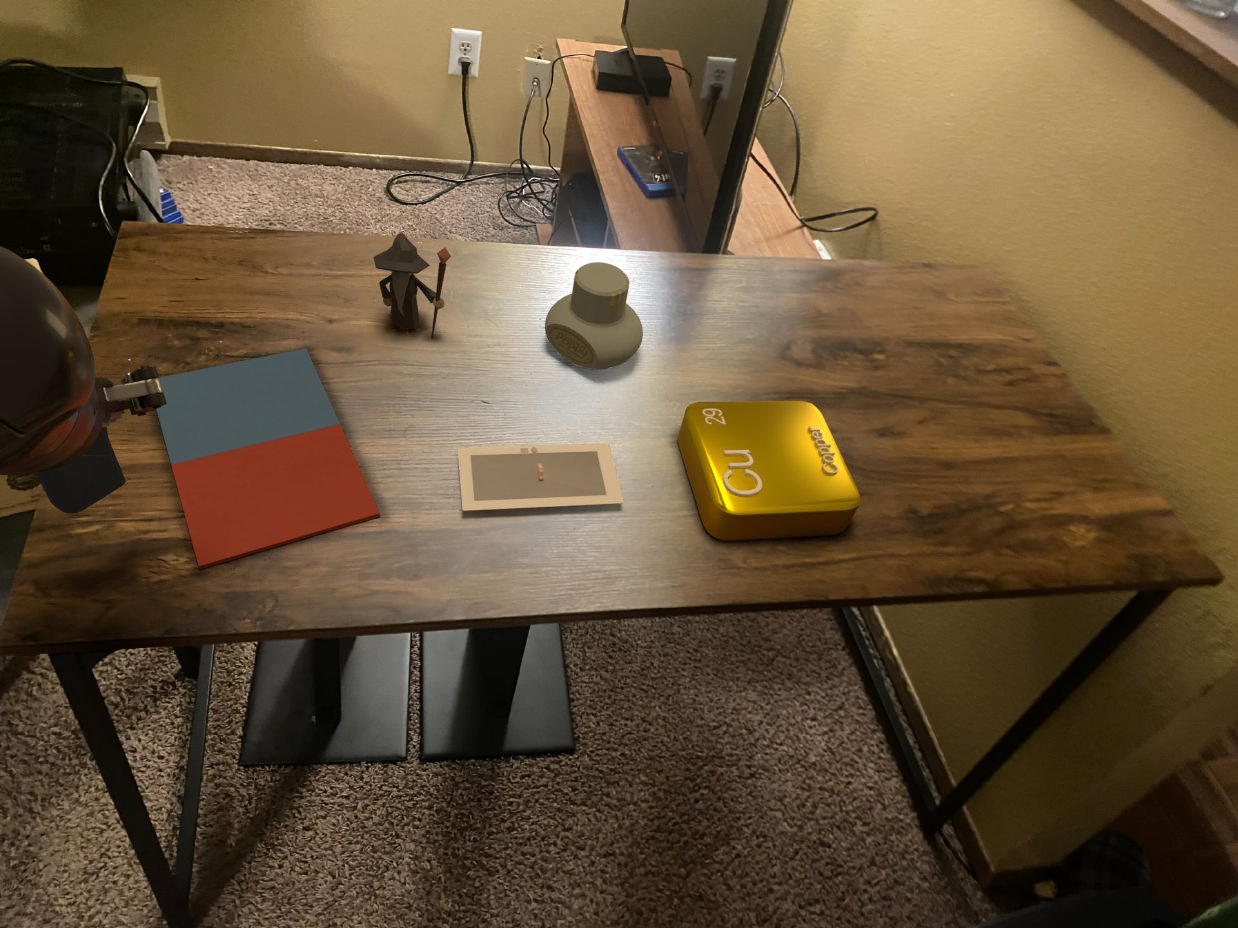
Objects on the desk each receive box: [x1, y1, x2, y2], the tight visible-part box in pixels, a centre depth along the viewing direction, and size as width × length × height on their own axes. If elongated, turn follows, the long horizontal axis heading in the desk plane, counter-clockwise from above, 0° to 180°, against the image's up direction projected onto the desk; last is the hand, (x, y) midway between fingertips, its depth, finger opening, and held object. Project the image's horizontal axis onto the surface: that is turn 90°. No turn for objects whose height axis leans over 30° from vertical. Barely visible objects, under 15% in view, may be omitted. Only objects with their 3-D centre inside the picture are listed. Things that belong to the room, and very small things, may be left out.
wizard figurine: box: [373, 232, 452, 339], centre depth 89 cm, size 8×6×12 cm
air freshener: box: [544, 261, 644, 370], centre depth 91 cm, size 11×8×10 cm
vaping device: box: [35, 427, 127, 514], centre depth 58 cm, size 3×5×12 cm, turn 147°
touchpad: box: [457, 442, 625, 512], centre depth 80 cm, size 8×15×2 cm, turn 101°
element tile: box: [677, 400, 861, 542], centre depth 83 cm, size 15×15×5 cm
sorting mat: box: [155, 347, 381, 570], centre depth 78 cm, size 15×24×1 cm, turn 29°
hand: (61, 416), depth 59 cm, fingers closed on vaping device, 5 cm apart
